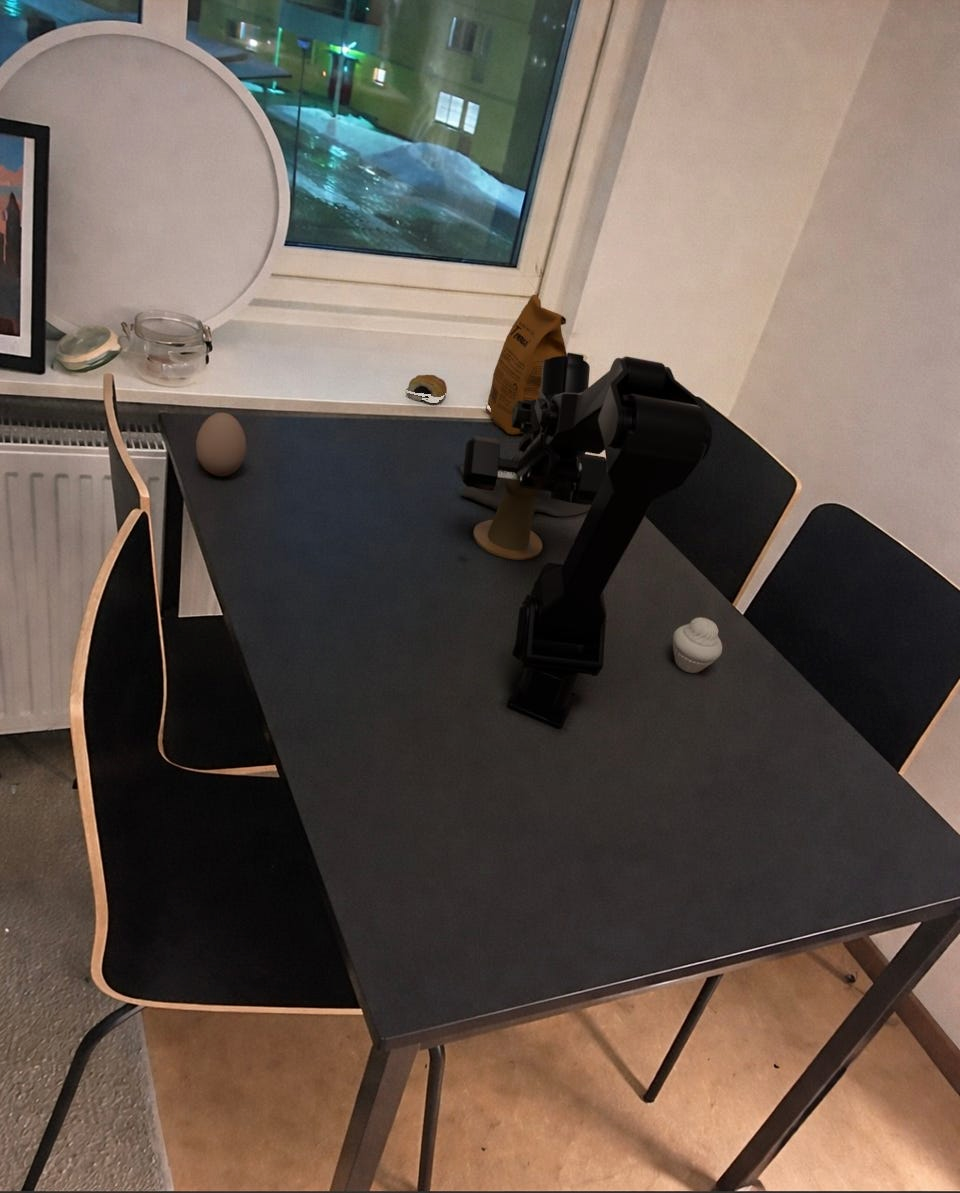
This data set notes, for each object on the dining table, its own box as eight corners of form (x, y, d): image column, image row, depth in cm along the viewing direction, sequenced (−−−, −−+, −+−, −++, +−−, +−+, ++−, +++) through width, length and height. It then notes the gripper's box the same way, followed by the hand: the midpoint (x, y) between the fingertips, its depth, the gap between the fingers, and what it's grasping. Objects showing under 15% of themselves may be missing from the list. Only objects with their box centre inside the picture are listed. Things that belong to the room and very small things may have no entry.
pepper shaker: (480, 528, 129) (497, 459, 123) (517, 526, 132) (535, 459, 126) (498, 551, 125) (517, 481, 119) (536, 549, 128) (556, 480, 122)
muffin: (682, 684, 109) (702, 638, 105) (654, 652, 114) (672, 607, 110) (721, 677, 112) (742, 633, 108) (692, 647, 116) (712, 603, 113)
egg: (194, 461, 128) (197, 401, 123) (242, 464, 130) (247, 405, 125) (195, 484, 123) (198, 422, 118) (245, 487, 125) (250, 426, 120)
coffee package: (525, 409, 171) (556, 293, 159) (552, 439, 162) (586, 319, 150) (477, 406, 167) (505, 287, 155) (502, 437, 158) (533, 313, 146)
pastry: (418, 381, 171) (422, 362, 169) (452, 392, 170) (456, 373, 168) (403, 397, 163) (406, 377, 161) (438, 408, 163) (442, 388, 160)
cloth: (465, 513, 133) (473, 476, 129) (446, 455, 147) (454, 420, 144) (606, 528, 138) (617, 492, 135) (574, 470, 153) (584, 437, 150)
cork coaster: (529, 568, 124) (530, 565, 124) (462, 542, 126) (463, 540, 125) (550, 538, 132) (550, 536, 132) (487, 514, 134) (488, 512, 134)
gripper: (629, 403, 113) (588, 445, 128) (484, 377, 110) (459, 423, 125) (624, 488, 111) (583, 520, 126) (475, 465, 108) (451, 501, 123)
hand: (520, 489), depth 125 cm, fingers open, 9 cm apart
